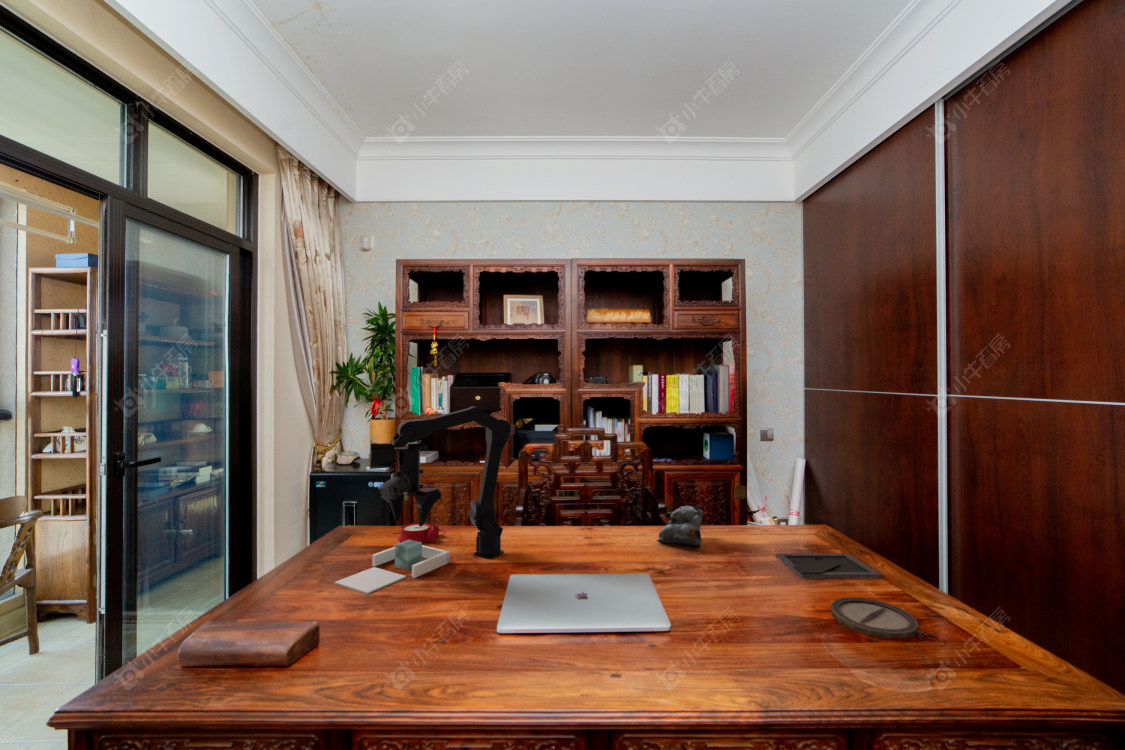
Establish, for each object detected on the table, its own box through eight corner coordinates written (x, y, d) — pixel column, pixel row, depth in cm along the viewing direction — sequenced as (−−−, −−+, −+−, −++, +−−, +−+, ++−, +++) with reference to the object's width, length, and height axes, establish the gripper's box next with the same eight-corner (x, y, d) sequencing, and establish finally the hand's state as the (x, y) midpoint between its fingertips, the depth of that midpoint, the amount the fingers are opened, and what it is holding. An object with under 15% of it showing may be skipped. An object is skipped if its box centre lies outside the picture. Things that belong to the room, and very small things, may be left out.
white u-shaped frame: (449, 562, 146) (449, 551, 146) (414, 577, 135) (414, 566, 135) (408, 552, 154) (408, 541, 154) (372, 565, 143) (372, 554, 143)
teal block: (421, 564, 144) (422, 542, 144) (408, 570, 140) (408, 547, 140) (408, 561, 147) (409, 539, 147) (394, 566, 143) (395, 544, 143)
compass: (813, 606, 121) (813, 597, 121) (878, 603, 123) (878, 594, 123) (876, 652, 101) (876, 642, 101) (952, 648, 103) (952, 637, 103)
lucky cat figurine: (649, 541, 166) (657, 498, 172) (679, 552, 169) (687, 510, 175) (677, 540, 153) (685, 494, 159) (710, 552, 156) (717, 507, 162)
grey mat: (405, 577, 135) (405, 576, 135) (367, 594, 124) (367, 592, 124) (374, 568, 141) (374, 566, 141) (334, 583, 131) (334, 582, 131)
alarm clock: (400, 523, 171) (445, 513, 172) (404, 542, 171) (449, 531, 172) (391, 533, 161) (439, 522, 161) (395, 553, 161) (443, 541, 162)
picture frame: (801, 580, 137) (881, 580, 137) (801, 572, 137) (881, 572, 137) (775, 558, 153) (847, 558, 153) (775, 551, 153) (847, 551, 153)
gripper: (361, 467, 141) (361, 525, 141) (411, 474, 132) (410, 536, 132) (394, 461, 151) (394, 516, 151) (442, 468, 141) (442, 525, 141)
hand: (409, 523), depth 143 cm, fingers open, 9 cm apart
